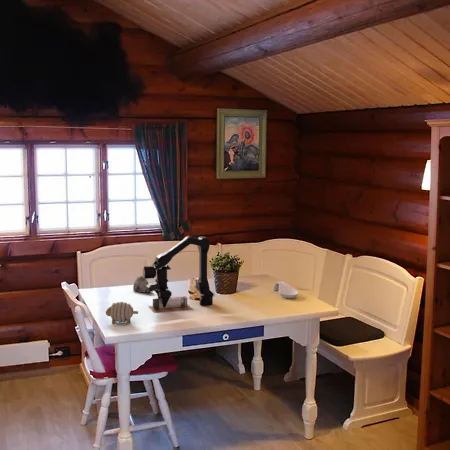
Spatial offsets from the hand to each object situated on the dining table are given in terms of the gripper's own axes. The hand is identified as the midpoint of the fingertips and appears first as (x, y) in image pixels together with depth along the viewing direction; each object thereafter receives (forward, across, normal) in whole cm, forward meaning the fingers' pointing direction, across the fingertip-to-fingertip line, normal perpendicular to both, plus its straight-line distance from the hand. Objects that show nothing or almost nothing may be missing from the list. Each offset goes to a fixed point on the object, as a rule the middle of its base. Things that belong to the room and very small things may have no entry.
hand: (162, 305), depth 356 cm
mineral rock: (+3, -43, -2) cm, 43 cm away
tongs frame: (+1, 0, +4) cm, 5 cm away
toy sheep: (+3, +17, -26) cm, 31 cm away
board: (+3, +1, +4) cm, 5 cm away
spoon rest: (+3, -10, +78) cm, 79 cm away
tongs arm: (+1, +1, +3) cm, 4 cm away
